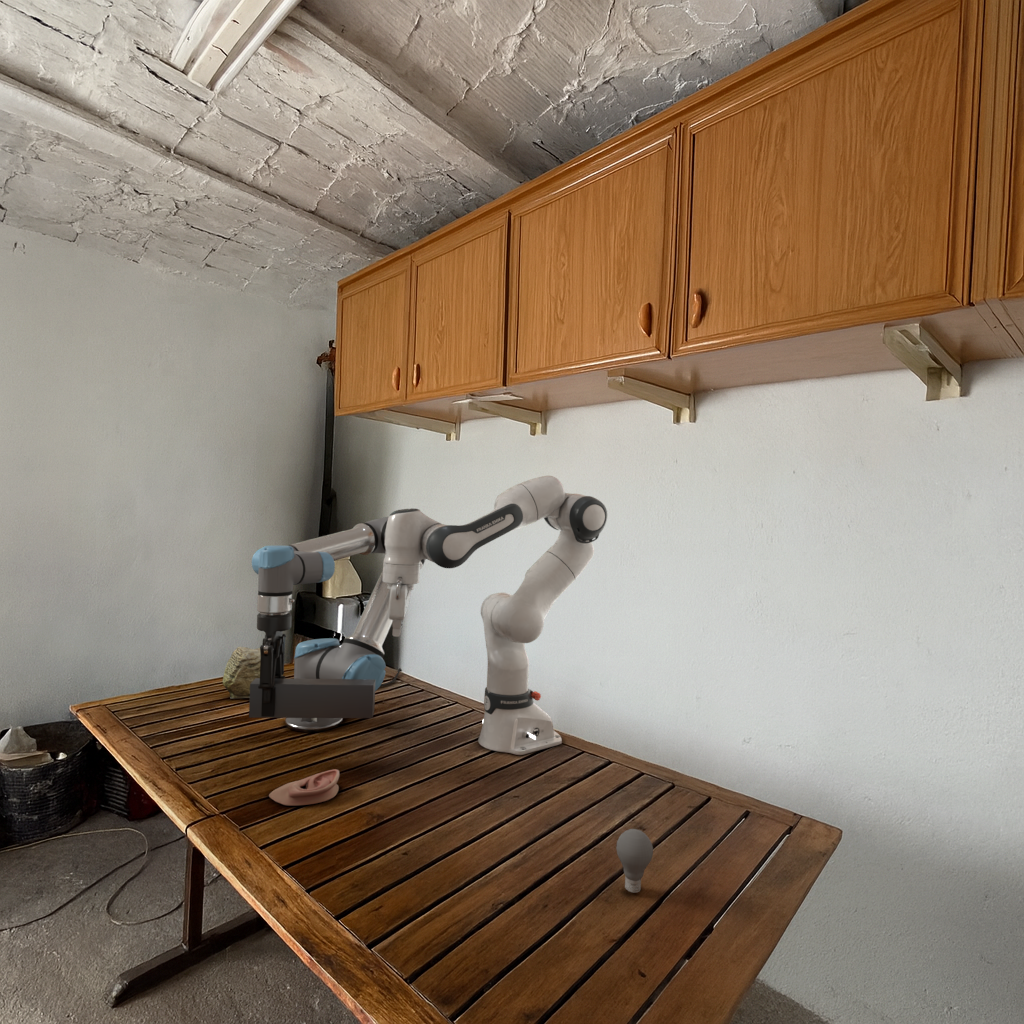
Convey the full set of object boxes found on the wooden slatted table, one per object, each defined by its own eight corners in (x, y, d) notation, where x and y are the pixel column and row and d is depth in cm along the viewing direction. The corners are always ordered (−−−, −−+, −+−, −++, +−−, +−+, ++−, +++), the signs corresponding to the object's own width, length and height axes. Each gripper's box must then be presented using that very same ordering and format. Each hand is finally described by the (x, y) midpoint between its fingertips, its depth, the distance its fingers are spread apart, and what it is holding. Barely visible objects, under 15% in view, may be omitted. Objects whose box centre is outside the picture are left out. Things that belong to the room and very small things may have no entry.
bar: (248, 717, 145) (250, 683, 145) (254, 711, 149) (255, 678, 149) (372, 718, 148) (373, 685, 148) (374, 711, 152) (375, 679, 152)
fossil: (218, 695, 195) (220, 647, 195) (278, 685, 208) (279, 640, 207) (228, 703, 189) (230, 653, 188) (289, 692, 201) (290, 645, 201)
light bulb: (610, 879, 108) (613, 822, 108) (644, 879, 109) (647, 822, 109) (619, 902, 102) (622, 840, 102) (655, 901, 103) (658, 840, 103)
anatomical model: (261, 782, 130) (291, 760, 141) (260, 801, 130) (290, 778, 141) (320, 791, 127) (346, 768, 139) (319, 811, 127) (345, 786, 139)
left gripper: (281, 620, 139) (277, 725, 139) (299, 606, 156) (296, 700, 157) (246, 619, 138) (242, 725, 138) (268, 605, 155) (264, 699, 156)
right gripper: (412, 581, 144) (408, 641, 144) (415, 571, 164) (412, 624, 164) (384, 579, 143) (380, 640, 143) (391, 569, 163) (388, 623, 163)
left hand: (270, 711), depth 148 cm, fingers closed on bar, 5 cm apart
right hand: (397, 631), depth 154 cm, fingers open, 8 cm apart
